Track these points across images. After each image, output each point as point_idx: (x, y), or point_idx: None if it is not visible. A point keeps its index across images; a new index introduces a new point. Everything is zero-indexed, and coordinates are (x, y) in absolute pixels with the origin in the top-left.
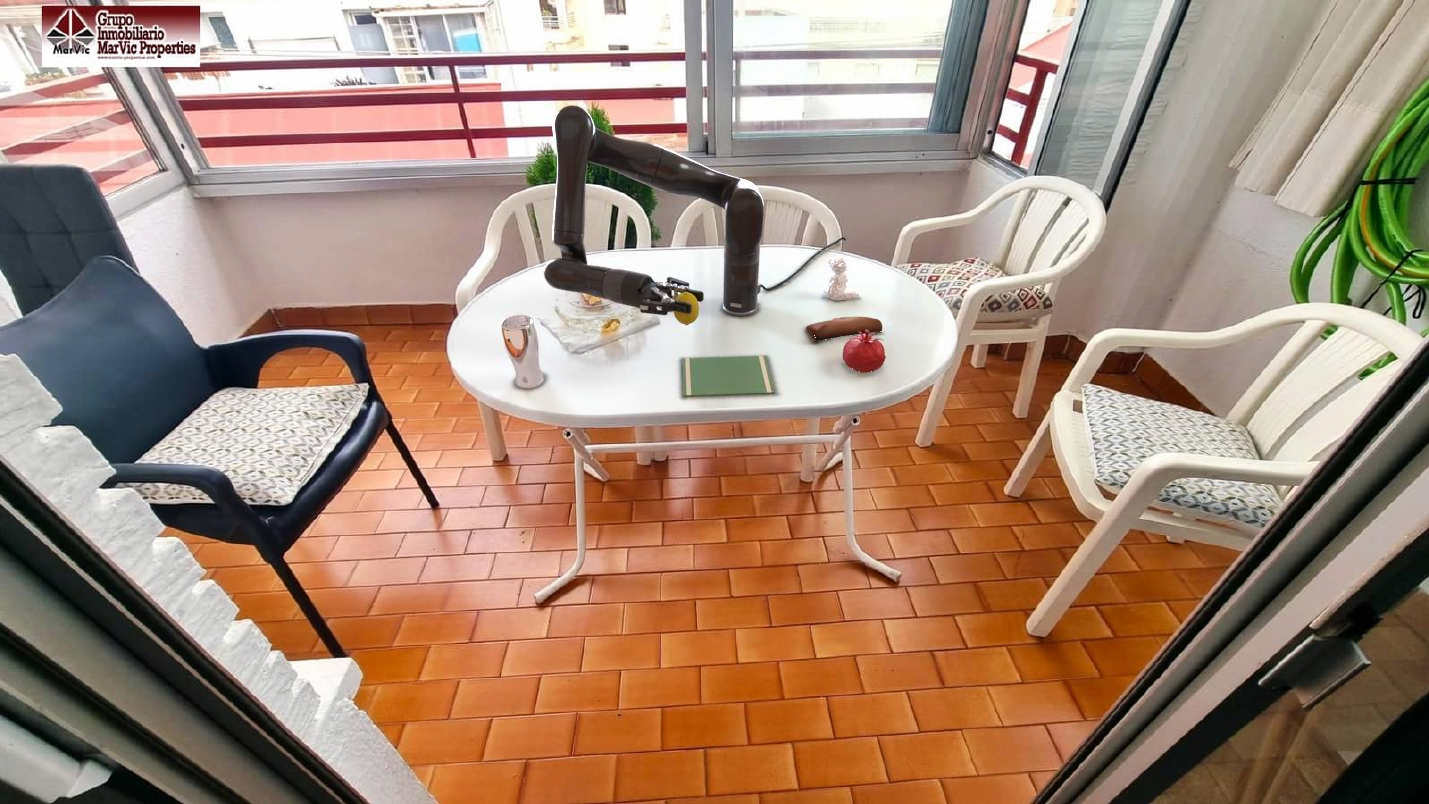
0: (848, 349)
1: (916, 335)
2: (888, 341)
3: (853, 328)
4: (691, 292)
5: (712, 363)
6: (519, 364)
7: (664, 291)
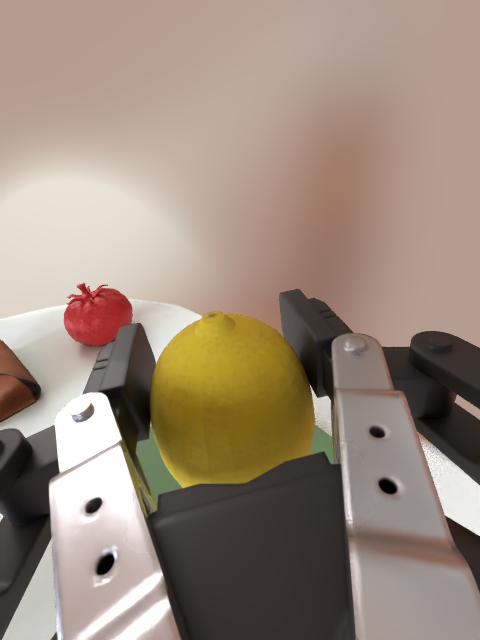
0: (108, 312)
1: (10, 330)
2: (29, 341)
3: (10, 353)
4: (134, 369)
5: None
6: None
7: (258, 519)
